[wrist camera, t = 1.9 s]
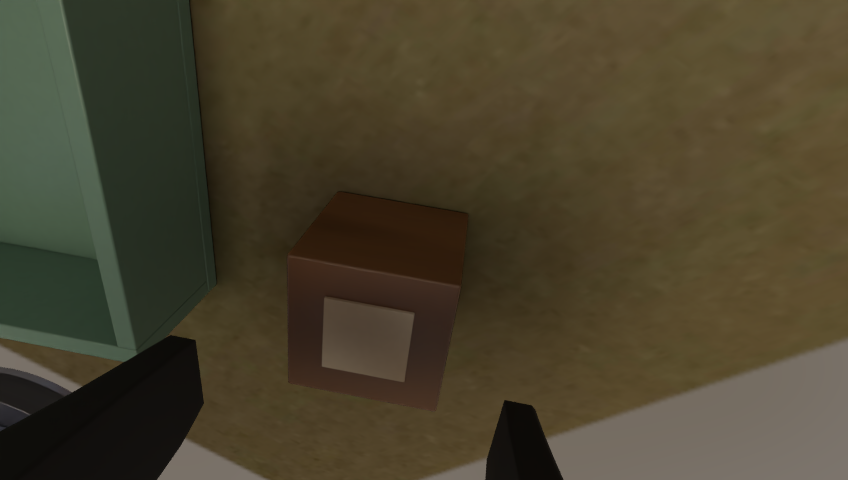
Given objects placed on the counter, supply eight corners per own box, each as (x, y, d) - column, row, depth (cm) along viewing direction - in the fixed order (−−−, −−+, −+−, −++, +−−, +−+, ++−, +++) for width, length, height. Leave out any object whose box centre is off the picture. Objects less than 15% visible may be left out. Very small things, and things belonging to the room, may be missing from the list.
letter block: (448, 319, 18) (435, 415, 14) (332, 298, 18) (286, 386, 14) (468, 213, 16) (461, 288, 11) (337, 190, 16) (284, 256, 12)
